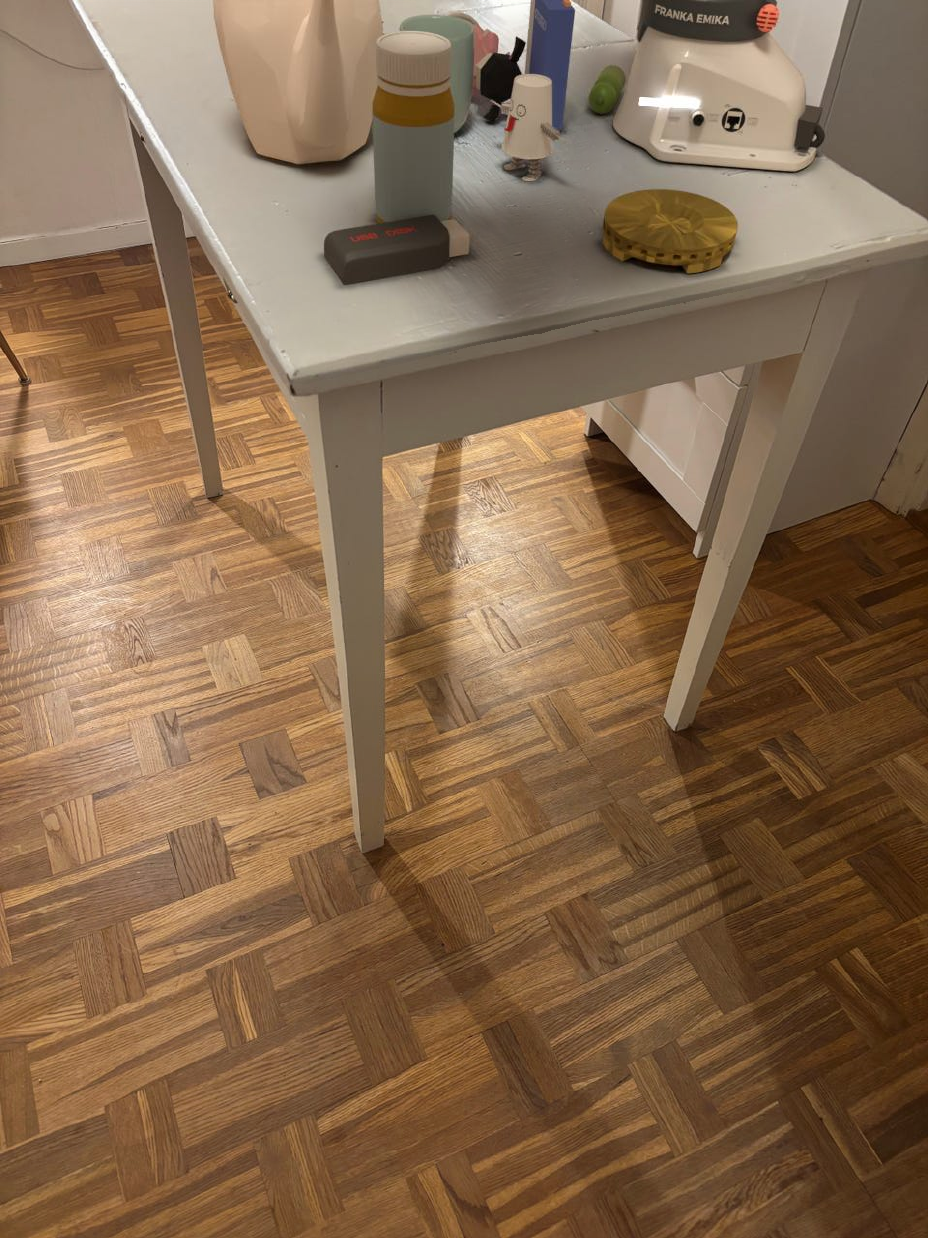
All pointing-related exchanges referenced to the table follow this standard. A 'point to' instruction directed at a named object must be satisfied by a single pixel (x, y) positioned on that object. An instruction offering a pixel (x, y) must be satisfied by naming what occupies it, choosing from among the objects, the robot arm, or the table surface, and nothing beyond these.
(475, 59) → the toy
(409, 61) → the bottle
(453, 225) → the usb drive
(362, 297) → the table surface
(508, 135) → the toy figure
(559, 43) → the walkman
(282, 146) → the watering can
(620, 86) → the pickle
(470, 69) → the cup
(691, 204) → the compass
